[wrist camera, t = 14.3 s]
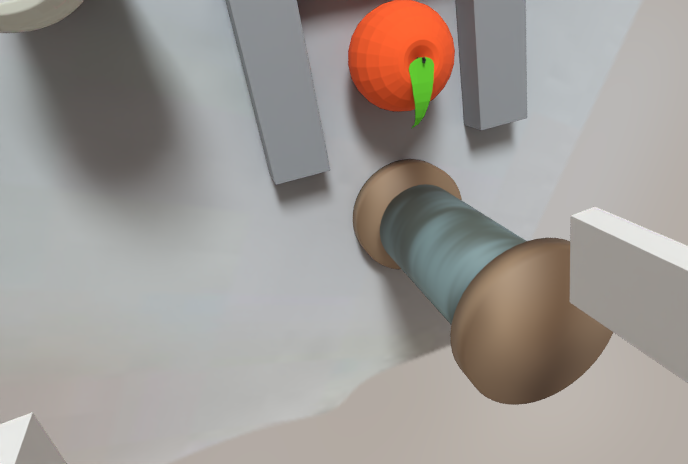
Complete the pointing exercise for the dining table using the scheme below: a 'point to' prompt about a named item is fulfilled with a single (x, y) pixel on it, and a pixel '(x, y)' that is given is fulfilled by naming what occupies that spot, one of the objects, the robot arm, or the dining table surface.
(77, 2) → the coffee cup
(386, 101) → the clementine
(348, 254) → the dining table surface
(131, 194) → the dining table surface
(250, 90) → the notched board
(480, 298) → the bobbin
